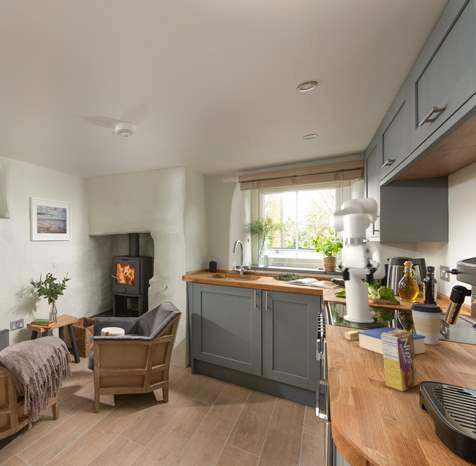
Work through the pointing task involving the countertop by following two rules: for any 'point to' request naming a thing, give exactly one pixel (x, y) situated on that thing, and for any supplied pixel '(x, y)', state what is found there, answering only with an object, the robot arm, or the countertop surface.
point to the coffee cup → (427, 321)
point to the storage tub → (374, 341)
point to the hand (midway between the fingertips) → (357, 281)
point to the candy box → (399, 359)
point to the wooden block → (352, 335)
